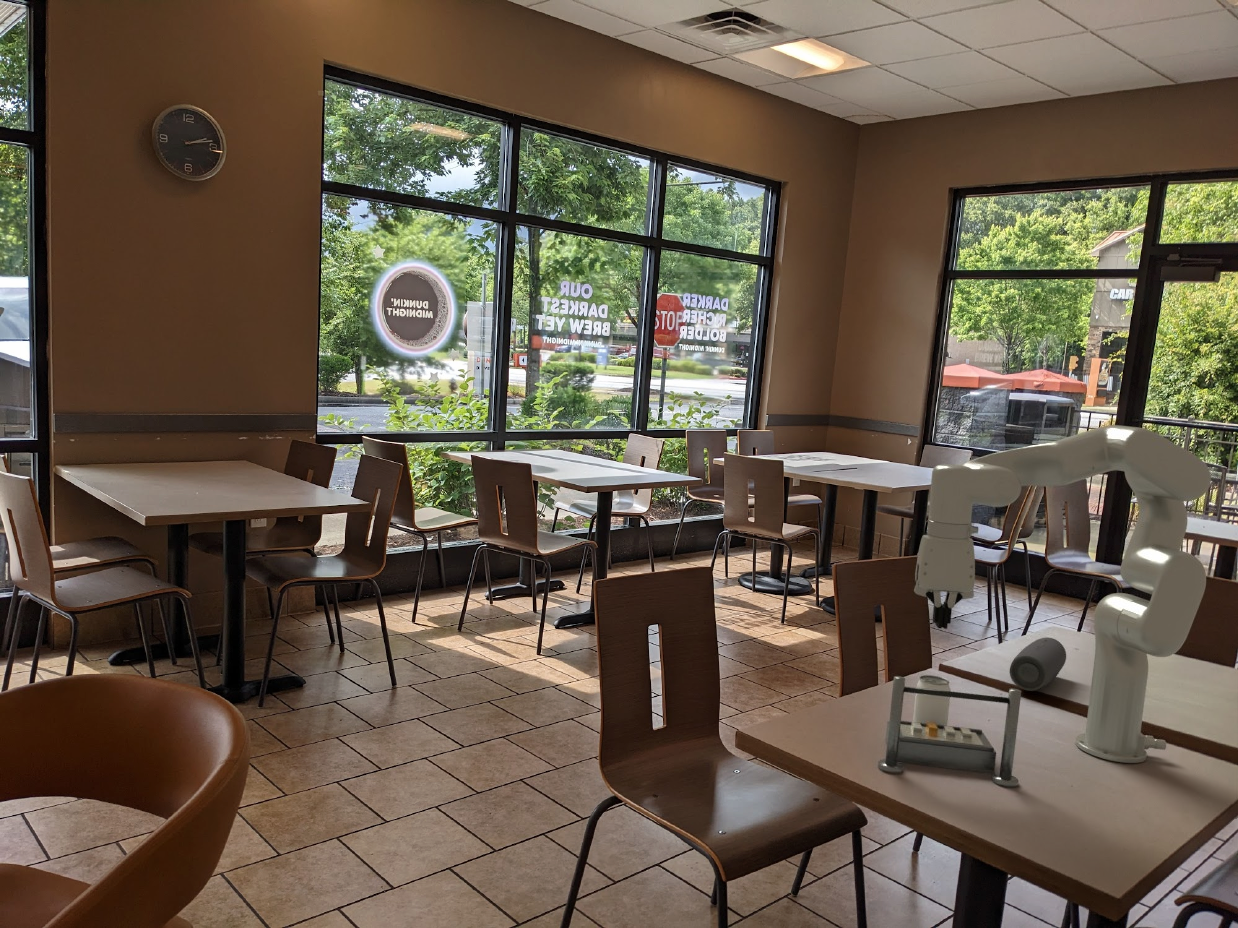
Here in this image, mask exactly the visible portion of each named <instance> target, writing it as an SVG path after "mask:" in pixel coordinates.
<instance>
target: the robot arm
mask: <svg viewBox="0 0 1238 928" xmlns="http://www.w3.org/2000/svg"><path fill="white" fill-rule="evenodd" d="M1111 471H1112V472H1114V471H1121V472H1124V476H1125V479H1126V480H1125V481H1127V483H1128V485H1129V487H1130V488H1131V490H1132V493H1134V496H1135V499H1136V502H1137V505H1138V507H1137V508H1138V515H1137V520H1136V523H1135V526H1134V529H1133V531H1132V534H1131V537H1130V540H1129V542H1128V544H1127V547H1126V548H1127V549H1126V550H1125V554H1124V555H1123V559H1122V562H1121V565H1120V569H1119V570H1120V577H1121V579H1122V580H1123V581H1124V582H1125V584H1126V585H1128V586H1130V587H1132V588H1134V589H1136V590H1139V591H1141V592H1144V593H1147V594H1149V595H1151V598H1150V600H1148V599H1145V598H1141V597H1139V596H1135V595H1134V594H1128V593H1123V592H1116V593H1110V594H1108V595H1106V596H1104V597H1103V598H1102V599H1101V600H1099V602H1098V603H1097V605H1096V607H1095V610H1094V613H1093V614H1094V615H1093V625H1094V626H1093V627H1094V636H1095V637H1094V639H1095V640H1094V641H1095V648H1094V649H1095V650H1094V661H1093V668H1092V676H1091V677H1092V678H1091V685H1090V693H1089V701H1088V709H1087V717H1086V726H1085V727H1086V728H1085V732H1084V733H1081V734H1078V735H1077V736H1076V737H1075V745H1076V746H1077V747H1078V748H1079V749H1080V750H1081V751H1083V752H1084V753H1087V754H1089V755H1092V756H1094V757H1097V758H1100V759H1104V760H1107V761H1110V762H1111V761H1112V762H1117V763H1126V764H1138V763H1142V762H1144V761H1146V760H1147V756H1148V753H1147V751H1146V750H1149V749H1154V750H1160V751H1161V750H1162V751H1165V750H1167V749H1166V748H1167V742H1166V740H1165V739H1157V738H1154V736H1153V735H1144V734H1143V733H1142V732H1141V730H1142V724H1143V723H1142V722H1143V716H1144V715H1143V714H1144V707H1145V701H1146V699H1145V698H1146V693H1147V683H1148V677H1149V659H1148V655H1150V656H1152V657H1156V658H1167V657H1170V656H1172V655H1174V654H1175V653H1177V652H1178V651H1179V650H1180V649H1181V648H1182V646H1183V644H1184V643H1185V642H1186V640H1187V638H1188V635H1189V633H1190V630H1191V629H1192V625H1193V622H1194V620H1195V617H1196V615H1197V612H1198V610H1199V607H1200V605H1201V603H1202V599H1203V597H1204V594H1205V590H1206V586H1207V574H1206V569H1205V567H1204V565H1203V563H1202V562H1201V560H1200V559H1199V558H1197V557H1196V556H1195V555H1193V554H1191V553H1189V552H1186V551H1183V550H1181V548H1182V545H1183V541H1184V539H1185V535H1186V531H1187V527H1188V513H1187V508H1186V505H1185V503H1184V502H1191V501H1192V502H1193V501H1195V500H1198V499H1200V498H1201V497H1203V496H1204V495H1205V494H1206V493H1207V492H1208V490H1209V488H1210V486H1211V482H1212V476H1211V475H1212V474H1211V472H1210V469H1209V466H1208V465H1207V464H1206V462H1204V460H1202V459H1201V458H1200V457H1198V455H1197V456H1196V455H1195V454H1194V453H1191V452H1190V451H1188V450H1187V449H1185V448H1183V447H1182V446H1179V445H1177V443H1175V442H1172V441H1171V440H1169V439H1168V438H1166V437H1165V436H1162V435H1160V434H1159V433H1156V432H1155V431H1153V430H1150V429H1147V428H1143V427H1136V426H1127V425H1120V424H1119V425H1118V424H1111V425H1109V424H1108V425H1104V426H1100V427H1097V428H1093V429H1090V430H1086V431H1083V432H1081V433H1077V434H1074V435H1070V436H1068V437H1064V438H1061V439H1058V440H1054V441H1053V440H1052V441H1050V442H1047V443H1040V444H1032V445H1029V446H1023V447H1019V448H1013V449H1008V450H1002V451H998V452H995V453H994V452H993V453H990V454H987V455H983V456H980V457H977V458H975V459H974V458H973V459H970V460H968V461H966V462H965V463H963V464H961V465H960V464H951V463H949V464H948V463H946V464H945V463H943V464H938V465H936V466H934V467H933V469H932V471H931V472H932V473H931V481H930V482H931V483H930V492H929V493H930V495H929V505H928V507H929V508H928V519H927V532H926V534H923V535H922V537H921V539H920V542H919V543H920V544H919V548H918V551H917V561H916V565H915V573H914V577H915V578H914V581H915V586H914V588H913V591H914V593H915V594H916V595H918V596H921V597H925V598H927V599H928V600H929V601H930V602H931V603H932V604H933V608H932V609H933V611H932V623H934V625H935V626H936V628H937V629H944V630H947V629H948V624H951V622H952V610H953V609H954V607H955V606H956V605H957V604H958V603H959V602H960V601H961V600H969V599H972V598H974V597H975V593H974V588H975V579H976V575H975V574H976V569H975V568H976V561H975V560H976V558H975V555H976V554H975V546H974V540H973V538H971V536H972V535H974V534H978V533H979V526H977V525H973V524H972V512H973V511H972V510H973V505H982V506H987V507H993V508H1003V507H1006V506H1009V505H1012V503H1014V502H1015V501H1016V500H1017V499H1018V498H1019V497H1020V495H1021V492H1022V487H1028V486H1029V487H1059V486H1061V487H1062V486H1067V485H1070V484H1073V483H1076V482H1079V481H1082V480H1086V479H1088V478H1092V477H1096V476H1098V475H1101V474H1105V473H1107V472H1111ZM941 592H943V593H945V592H946V594H945V598H944V601H943V603H942V595H941Z"/></svg>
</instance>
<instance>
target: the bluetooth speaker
mask: <svg viewBox="0 0 1238 928" xmlns="http://www.w3.org/2000/svg"><path fill="white" fill-rule="evenodd" d="M1066 660H1067V651H1066V649H1065V646H1064V645H1063V644H1062V643H1061V642H1060V641H1059V640H1057V639H1056V638H1053V637H1041V638H1038V639H1036V640H1034V641H1033V642H1031V643H1030V644H1027V645H1026V646H1025V647H1024V648H1023V649H1022V650H1021V651H1020V652H1019V653H1018V654H1017V655H1016V656H1015V657H1014V658H1013V660H1012V661H1011V663H1010V667H1009V676H1010V679H1011V681H1012V682H1013V684H1014V685H1016V686H1017V687H1018V688H1019V689H1022V690H1025V691H1029V692H1034V691H1039V690H1041V689H1042V688H1044V687H1045V686H1046V685H1048V684H1049V683H1051V682H1052V681H1053V680H1055V678H1056V677H1057V676H1058V675H1059V674H1060V672H1061V670H1062V669H1063V667H1064V666H1065V663H1066ZM1040 688H1041V689H1040ZM1038 689H1039V690H1038Z"/></svg>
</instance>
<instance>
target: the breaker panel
mask: <svg viewBox="0 0 1238 928" xmlns="http://www.w3.org/2000/svg"><path fill="white" fill-rule="evenodd" d="M885 729H886V731H885V740H884V741H886V742H885V744H886V746H887V740H888V730H889V721H886V728H885ZM996 758H997V751H996V750H995V748H994V747H993V745H992V743H990V741H989V739H988V738H987V736H986V735H985V733H984V732H983V730H982V729H979V728H969V727H963V726H962V727H961V726H951V725H947V726H944V725H936V724H935V723H930V722H926V723H918V722H913V721H907V720H901V726H900V736H899V746H898V755H897V762H899V763H900V762H902V763H903V764H910V765H920V766H927V767H935V768H942V767H943V769H952V770H959V771H970V772H976V773H978V772H979V773H987V774H994V773H995V768H996V767H995V766H996ZM902 763H901V764H902Z"/></svg>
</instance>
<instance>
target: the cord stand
mask: <svg viewBox="0 0 1238 928" xmlns="http://www.w3.org/2000/svg"><path fill="white" fill-rule="evenodd" d="M892 681H893V682H892V691H891V692H892V693H891V699H890V700H891V702H890V710H889V721H888V722H889V730H888V740H887V745H886V752H885V759H880V760H878V762H877V768H878V769H879V770H880V771H882V772H884V773H886V774H887V773H888V774H893V775H899V774H902V773H904V764H902V763H900V762H897V755H898V746H899V736H900V726H901V721H902V716H903V713H902V712H903V706H904V705H903V704H904V695H905V693H910V694H916V693H917V694H926V695H935V696H944V697H950V698H953V699H954V698H956V699H962V700H974V701H982V702H990V703H998V704H999V703H1003V704H1007V706H1006V715H1005V723H1004V733H1003V741H1002V747H1001V748H1002V750H1001V759H1000V768H999V772H994V774H993V773H991V781H992V783H994V784H995V785H997V786H1000V787H1003V788H1008V789H1009V788H1011V789H1014V788H1017V787H1019V779H1018V778H1017V777H1016V776H1014V775H1013V766H1014V759H1015V758H1014V757H1015V749H1016V741H1017V732H1018V722H1019V716H1020V715H1019V714H1020V709H1021V708H1020V706H1021V697H1022V690H1020V689H1017V688H1014V687H1013V688H1008V696H1007V697H1005V696H995V695H987V694H977V693H968V692H959V691H942V690H933V689H923V688H916V687H912V686H905V684H906V678H905V677H903V676H902V675H901V676H900V675H895V676H893V680H892Z"/></svg>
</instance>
